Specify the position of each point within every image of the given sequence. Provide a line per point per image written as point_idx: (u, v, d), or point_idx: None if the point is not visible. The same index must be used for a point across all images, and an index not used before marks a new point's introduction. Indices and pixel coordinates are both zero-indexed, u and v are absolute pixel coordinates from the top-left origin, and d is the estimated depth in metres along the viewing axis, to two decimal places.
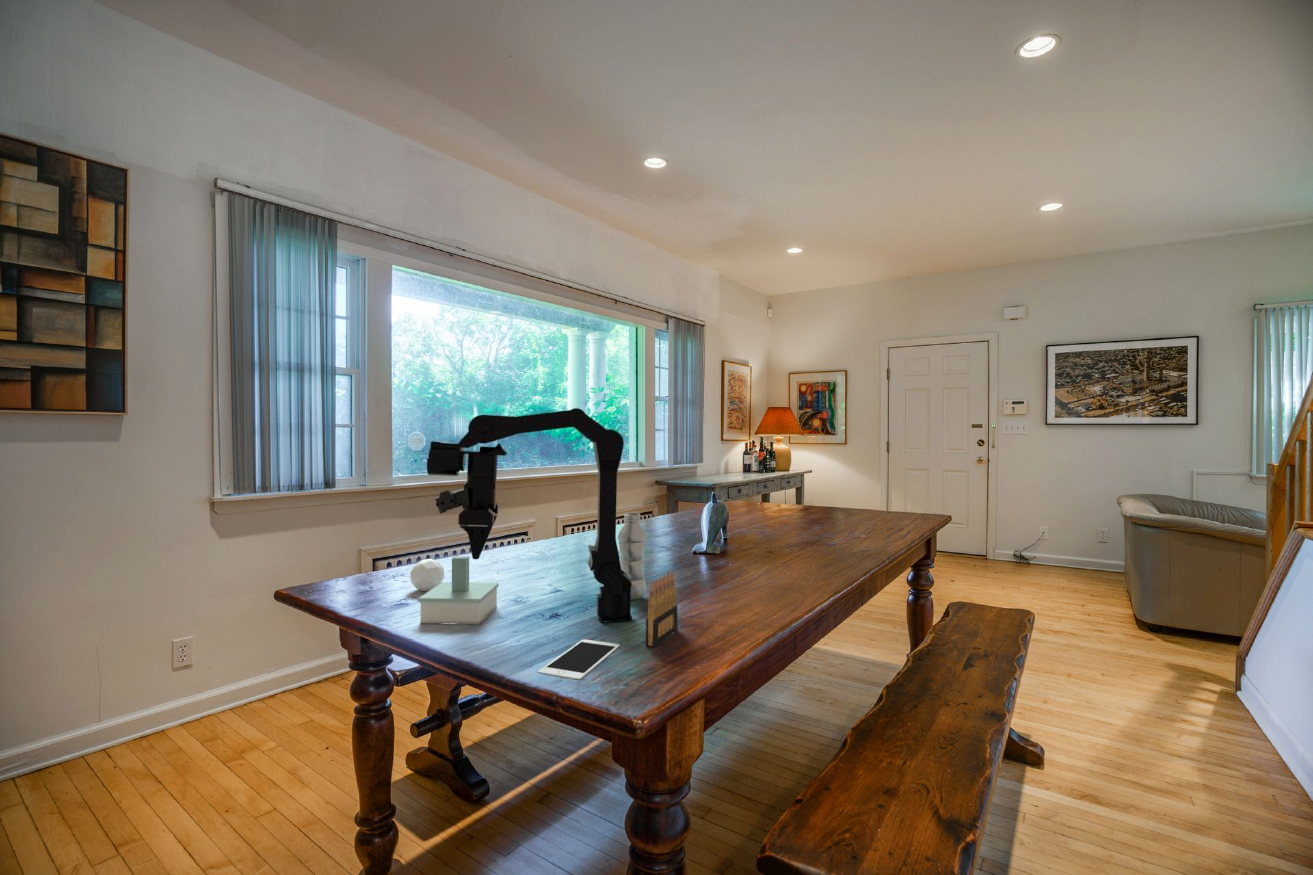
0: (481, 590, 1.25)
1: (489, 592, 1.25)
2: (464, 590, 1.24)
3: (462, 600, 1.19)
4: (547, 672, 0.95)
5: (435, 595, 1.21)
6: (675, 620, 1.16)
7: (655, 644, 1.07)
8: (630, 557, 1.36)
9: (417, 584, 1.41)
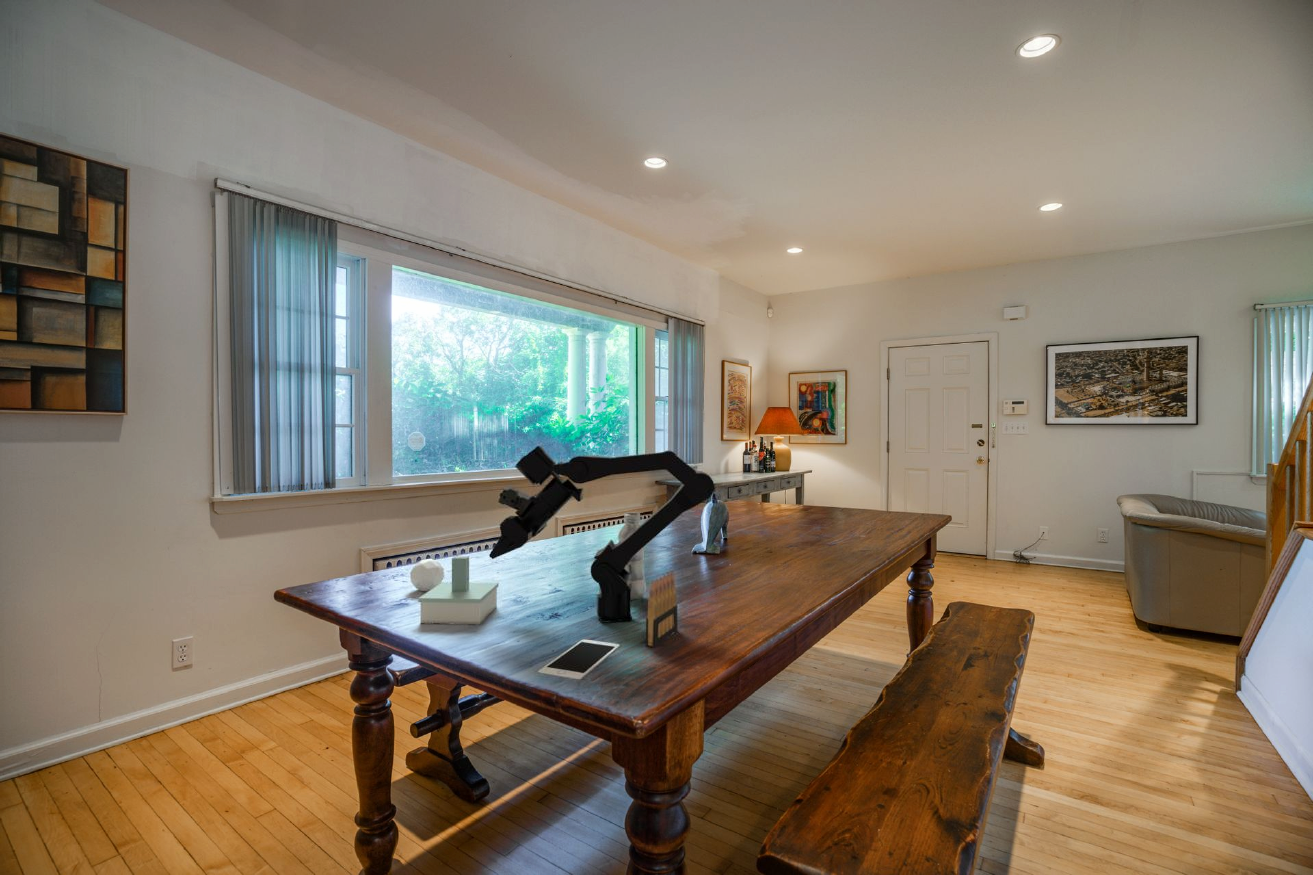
0: (481, 590, 1.25)
1: (489, 592, 1.25)
2: (464, 590, 1.24)
3: (462, 600, 1.19)
4: (547, 672, 0.95)
5: (435, 595, 1.21)
6: (675, 620, 1.16)
7: (655, 644, 1.07)
8: None
9: (417, 584, 1.41)
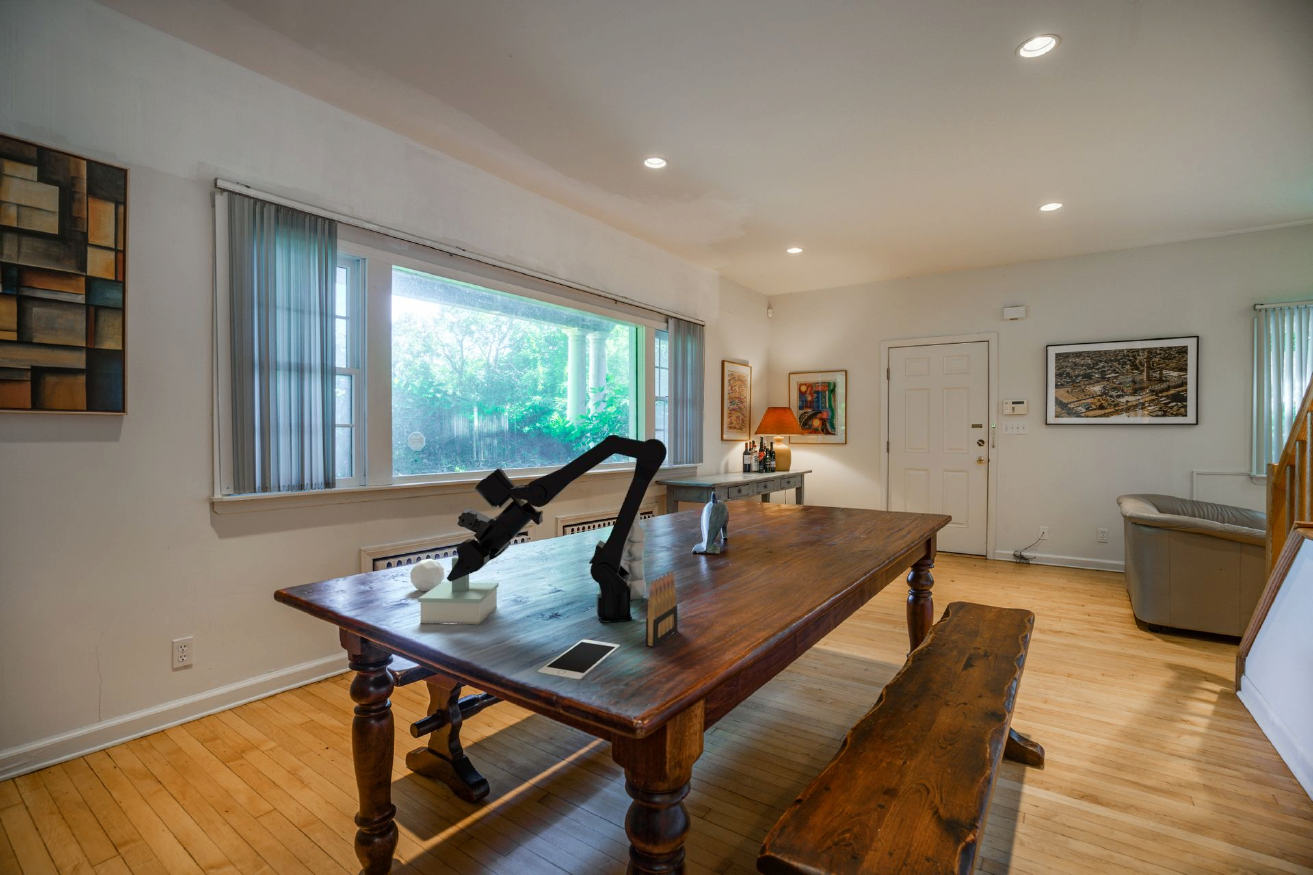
0: (481, 590, 1.25)
1: (489, 592, 1.25)
2: (464, 590, 1.24)
3: (462, 600, 1.19)
4: (547, 672, 0.95)
5: (435, 595, 1.21)
6: (675, 620, 1.16)
7: (655, 644, 1.07)
8: (630, 557, 1.36)
9: (417, 584, 1.41)
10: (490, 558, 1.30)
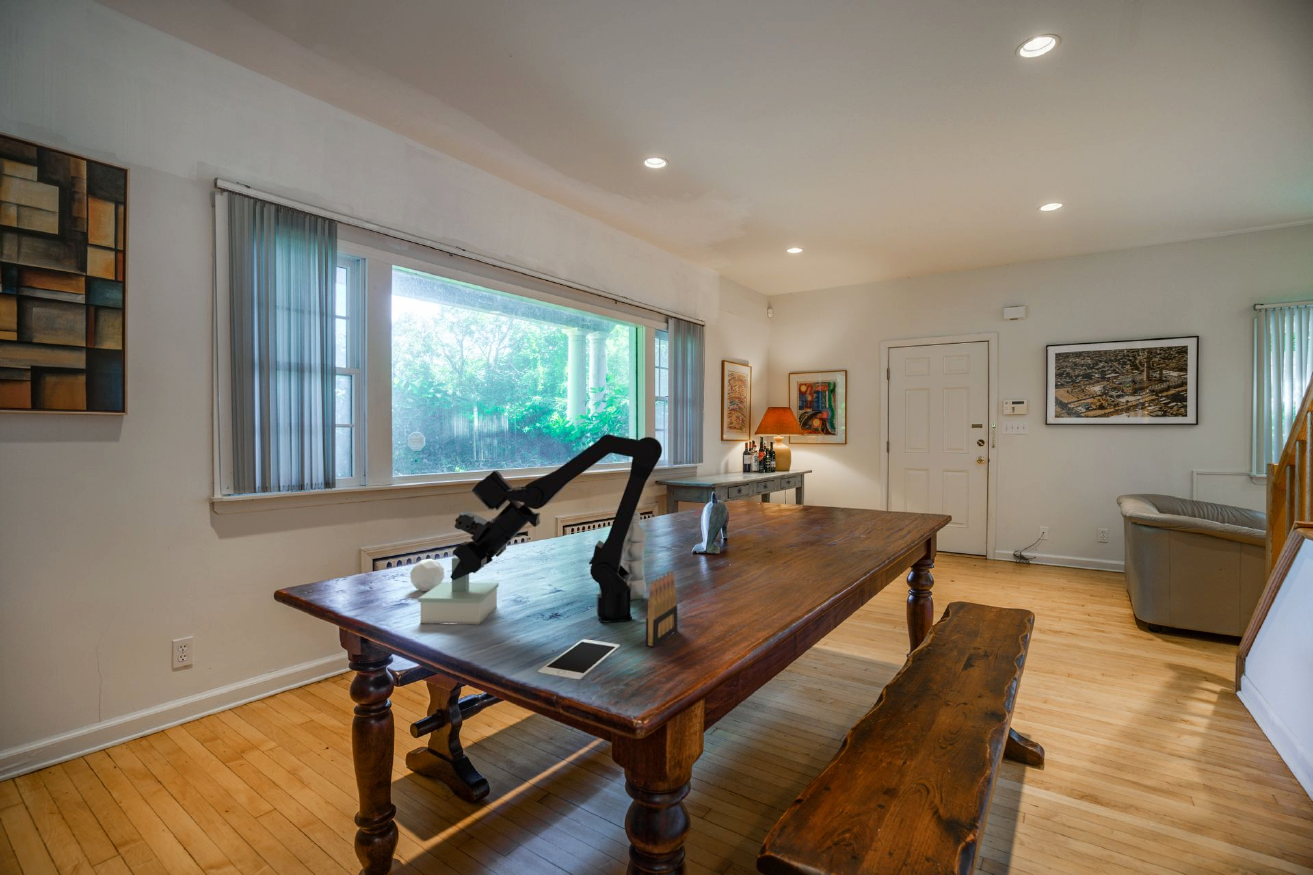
0: (481, 590, 1.25)
1: (489, 592, 1.25)
2: (464, 590, 1.24)
3: (462, 600, 1.19)
4: (547, 672, 0.95)
5: (435, 595, 1.21)
6: (675, 620, 1.16)
7: (655, 644, 1.07)
8: (630, 557, 1.36)
9: (417, 584, 1.41)
10: None
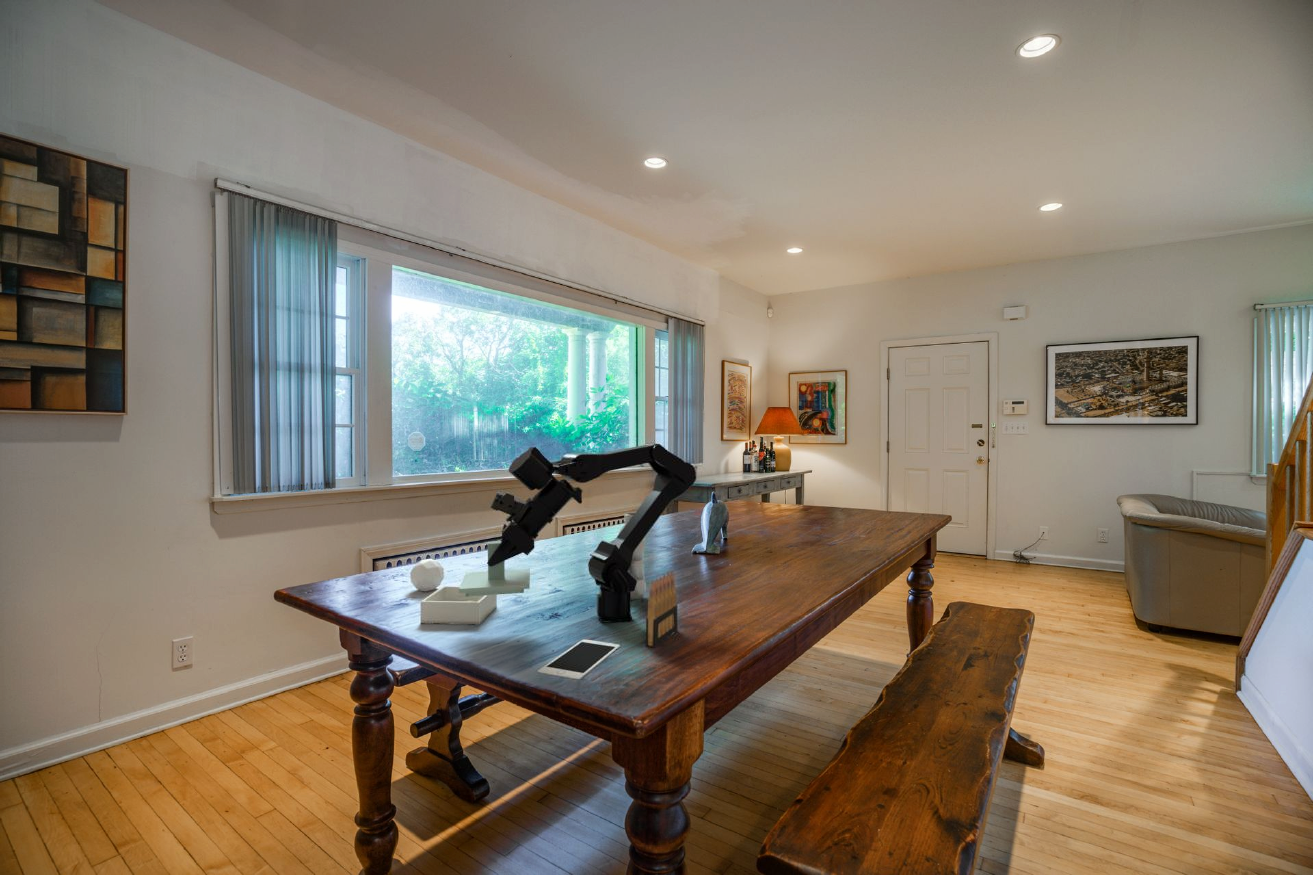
0: (520, 576, 1.15)
1: None
2: (502, 577, 1.14)
3: (509, 587, 1.09)
4: (547, 672, 0.95)
5: (475, 585, 1.10)
6: (675, 620, 1.16)
7: (655, 644, 1.07)
8: None
9: (417, 584, 1.41)
10: None
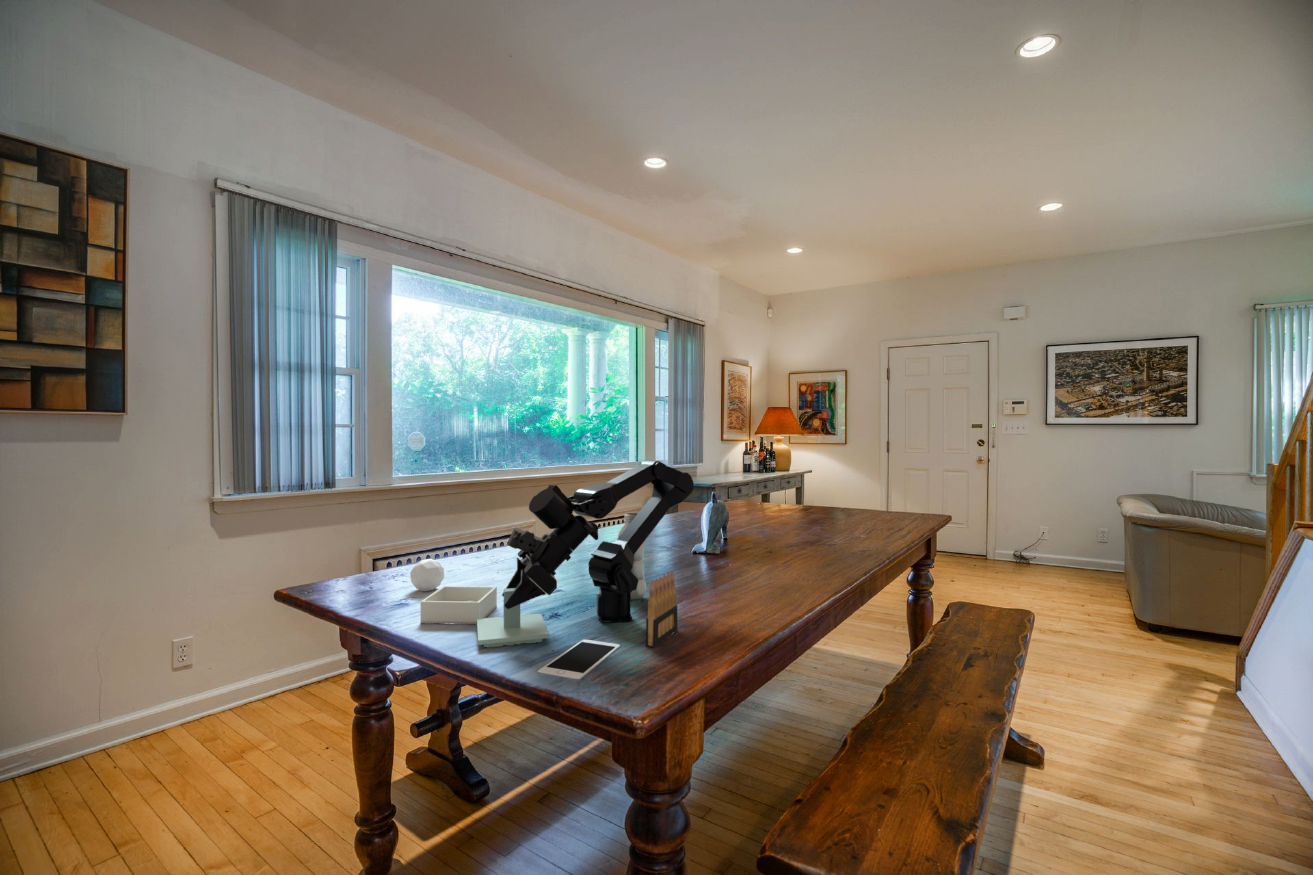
0: (535, 623, 1.14)
1: None
2: (518, 625, 1.12)
3: (529, 637, 1.08)
4: (546, 672, 0.95)
5: (492, 635, 1.08)
6: (675, 620, 1.16)
7: (655, 644, 1.07)
8: None
9: (417, 584, 1.41)
10: None
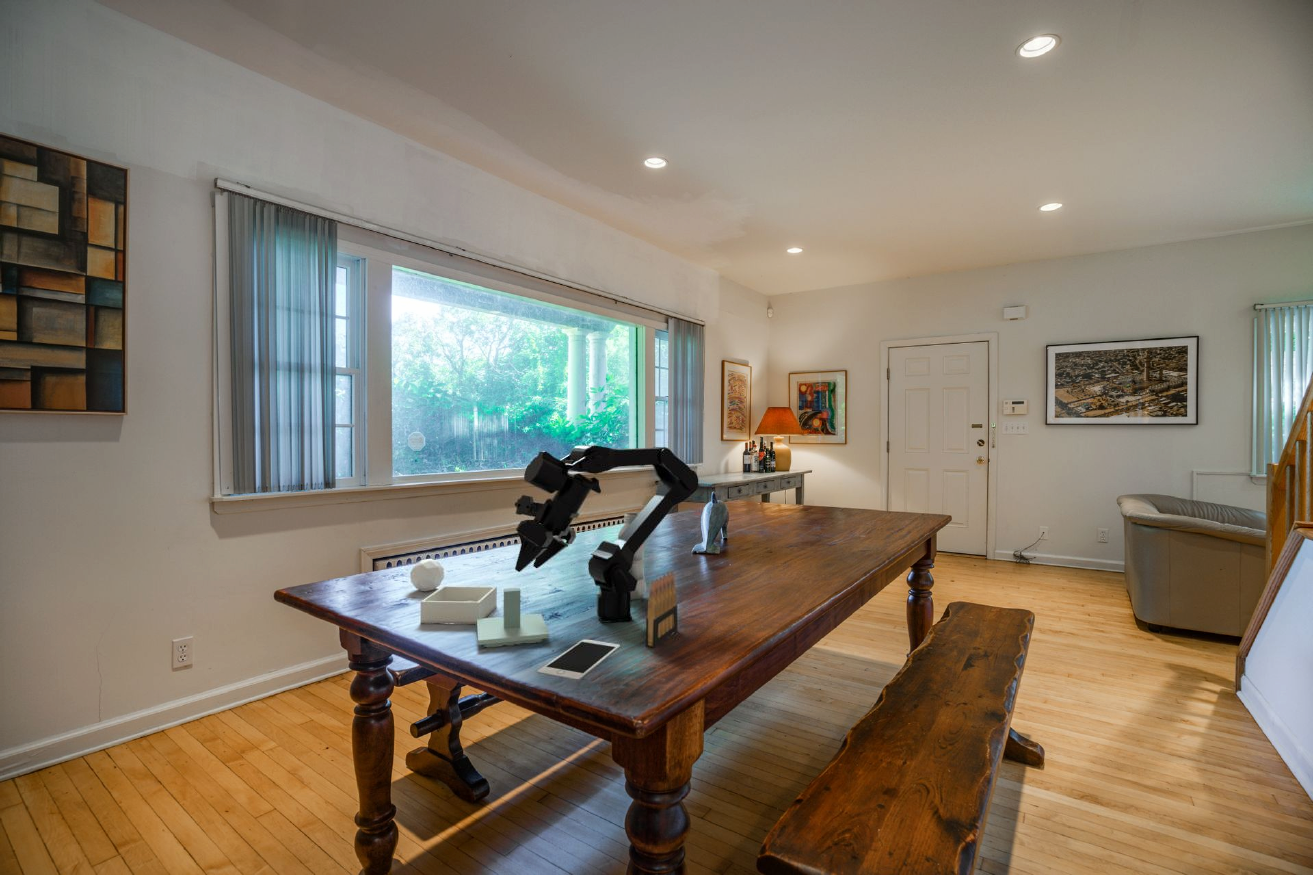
0: (535, 623, 1.14)
1: None
2: (518, 625, 1.12)
3: (529, 637, 1.08)
4: (546, 672, 0.95)
5: (492, 635, 1.08)
6: (675, 620, 1.16)
7: (655, 644, 1.07)
8: None
9: (417, 584, 1.41)
10: (559, 549, 1.22)
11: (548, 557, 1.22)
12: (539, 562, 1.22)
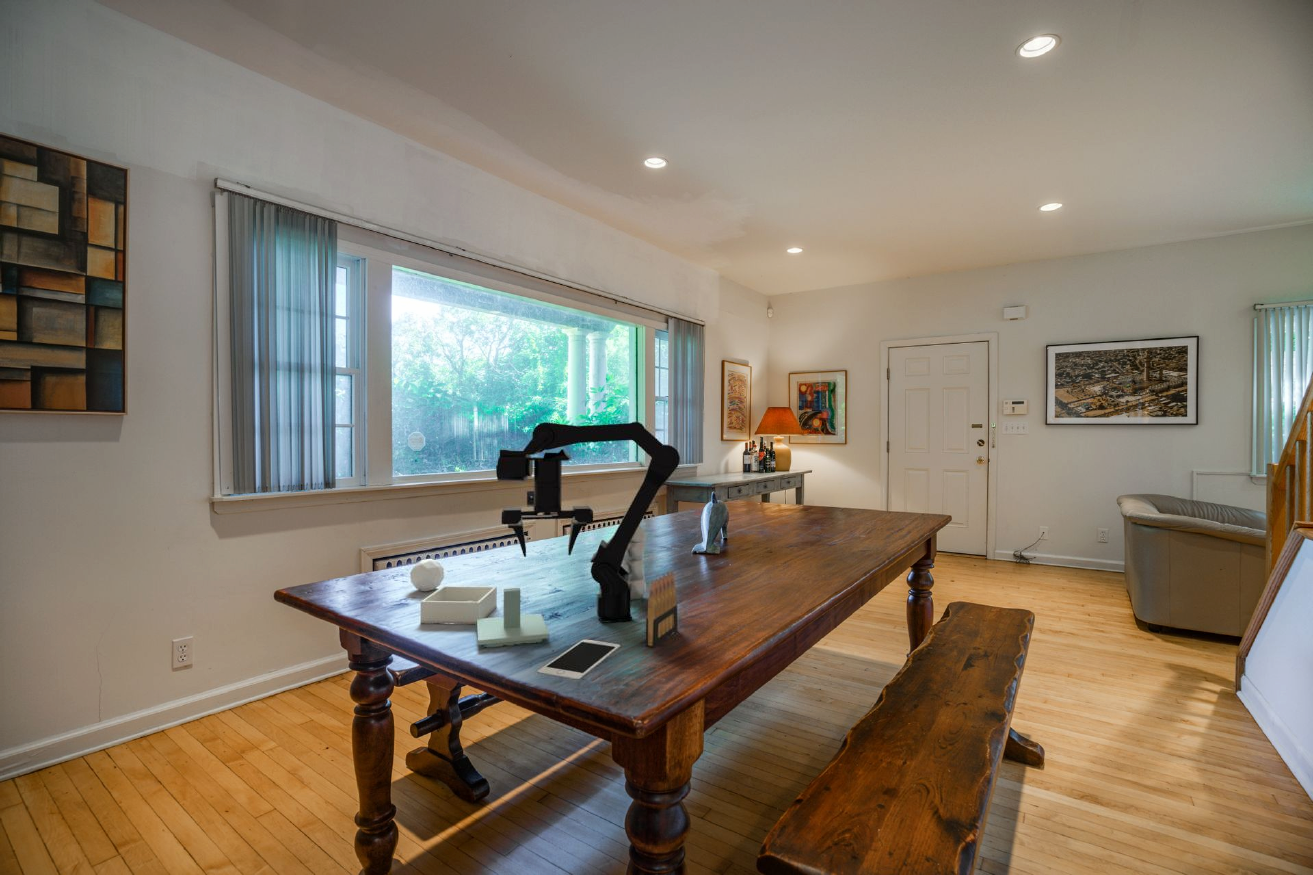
0: (535, 623, 1.14)
1: None
2: (518, 625, 1.12)
3: (529, 637, 1.08)
4: (546, 672, 0.95)
5: (492, 635, 1.08)
6: (675, 620, 1.16)
7: (655, 644, 1.07)
8: (630, 557, 1.36)
9: (417, 584, 1.41)
10: (572, 529, 1.23)
11: (570, 541, 1.24)
12: (568, 548, 1.25)
